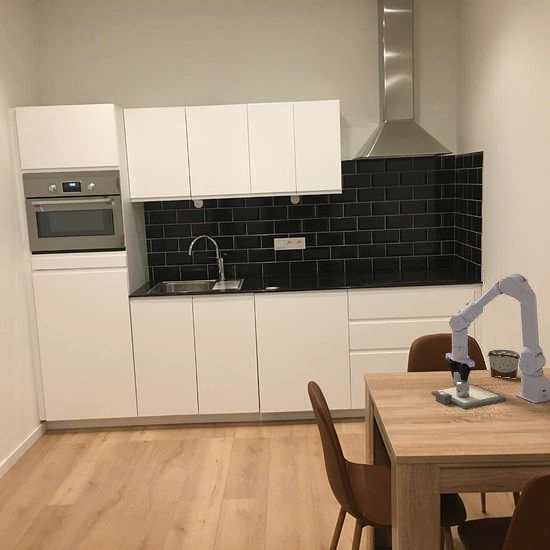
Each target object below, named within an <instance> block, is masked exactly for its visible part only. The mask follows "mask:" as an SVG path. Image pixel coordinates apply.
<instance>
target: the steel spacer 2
mask: <svg viewBox="0 0 550 550" xmlns="http://www.w3.org/2000/svg"><path fill="white" fill-rule="evenodd" d="M469 384H470V381H469V380H467V381H462V380H461V381H456V386H455V387H456V396H457V397H459V398H468V397H469Z"/></svg>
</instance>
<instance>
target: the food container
mask: <svg viewBox="0 0 550 550" xmlns="http://www.w3.org/2000/svg"><path fill="white" fill-rule="evenodd" d="M487 358H488V359H489V360H488V361H489V369H490V370H489V371H490V377H491V376H501V377H510V378H516V379H517V377H518V371H519V370H518V368H519V362H520V360H521V354H520V353H519V352H518V351H515V350H511V349H509V350H508V349H492V350H489V351H488V353H487Z"/></svg>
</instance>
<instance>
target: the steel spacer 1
mask: <svg viewBox="0 0 550 550" xmlns="http://www.w3.org/2000/svg"><path fill="white" fill-rule="evenodd" d="M456 381H461V374H460V370H456V371H454V380H453V385H454V387H456Z"/></svg>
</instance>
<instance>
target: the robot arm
mask: <svg viewBox="0 0 550 550" xmlns="http://www.w3.org/2000/svg"><path fill="white" fill-rule="evenodd" d="M503 294H504V295H506V296H509V297H511V298H513V299H515V300H516V301H517V302H519V303H520V306H519V307H520V319H521V335H522V348H521V349H522V350H521V353H520V359H521V360H520V359H519V362H518V368H519V369H520V371H521V373H520V380H521V381H520V393H516V394H515V397H518V398H521V399H523V400H526V401H529V402H531V403H534V404H538V403H543V402H547V401H548V402H549V401H550V379H549V377H547V376H546V375H545V374H544V369H543V368H544V367H545V365H546V364H547V363H546V357H545V355H544V353H543V348H542V347H541V346H540V340H539V327H538V326H539V321H538V320H539V319H538V308H537V307H538V305H537V295H536V293H535V292H534V290H533V288H532V287H531V285H530V284H529V281H528V278H526V277H525V276H523V275H522V274H520V273H512V274H510V275H508V276H504V277H502V278H501V279H500V280H498V281H496V282H494V283H493V285H491V287H489V288H488V289H487V290H486V291H485V292H484V293H483V295H481V296H480V297H479V298H478V299H477V300H476V301H475V300H471V301H467V302H466V303H465V307H464V308H462V309H461V310H458V311H457V312H456V313H457V314H456V315H453V316H452V317H451V318H450V319H449V320H448V321H449V322H448V323H449V328H450V329H451V352H448V353H445V360H447V361H446V364H447V365H448V367H449V370H450V373H451V377H452V380H453V381H454V371H456V370H460V374H461V380H462V381H469V376H470V374H471V372H472V370H473V368H474V367H476V366H475V364H476V362H475V361H474V360H472V359H471V358H470V356H469V355H468V353H469V347H468V345H469V344H468V341H469V337H468V336H469V335H468V334H469V333H468V328H469V327H470V326H471V324H473V322H474V321H475V320H476V319H478V318H479V316H481V315H482V314H483V313H484V307H486V306H487V305H488V304H489V303H490V302H491V301H493V300H494V299H495V298H497V297H498V296H499V295H503Z"/></svg>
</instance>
